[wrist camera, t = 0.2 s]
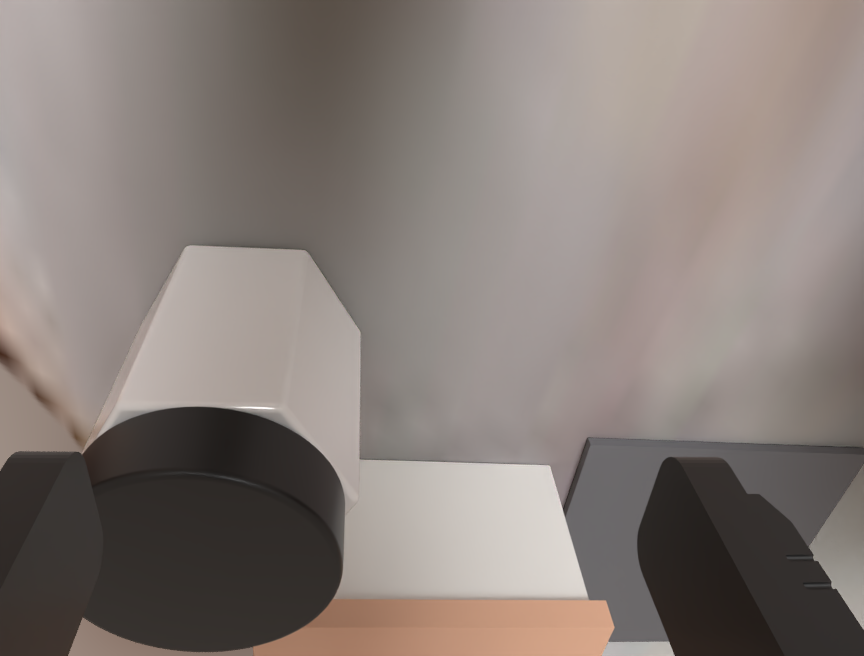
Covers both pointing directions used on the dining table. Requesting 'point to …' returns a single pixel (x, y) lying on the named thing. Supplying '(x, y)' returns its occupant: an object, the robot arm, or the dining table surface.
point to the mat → (631, 488)
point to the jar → (228, 455)
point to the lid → (450, 629)
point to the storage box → (458, 534)
